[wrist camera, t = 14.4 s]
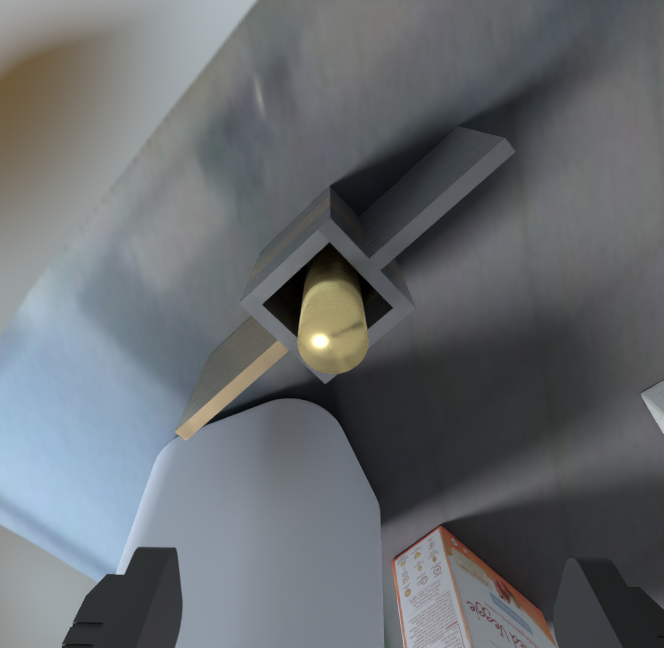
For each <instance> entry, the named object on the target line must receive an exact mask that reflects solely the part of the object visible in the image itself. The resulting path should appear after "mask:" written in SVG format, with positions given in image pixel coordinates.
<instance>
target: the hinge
mask: <svg viewBox="0 0 664 648" xmlns="http://www.w3.org/2000/svg"><path fill="white" fill-rule="evenodd" d="M515 152H516V151H515V150H514V149H513V148H512V146H511V145H510V144H509V142H508V141H507V140H506V139H505V138H504V137H500V136H496V135H492V134H488V133H484V132H480V131H476V130H472V129H468V128H464V127H459V126H457V127H456V128H455V129H453V130H452V131H451V132H450V133H449V134H448V135H447V136H446V137H445V138H444V139H443V140H442V141H440V142H439V143H438V144H437V145H436V146H435V147H434V148H433V149H432V150H431V151H430V152H429V153H428V154H426V155H425V156H424V157H423V158H422V159H421V160H420V161H419V162H418V163H417V164H416V165H415V166H413V167H412V168H411V169H410V170H409V171H408V172H407V173H406V174H405V175H404V176H403V177H402V178H400V179H399V180H398V181H397V182H396V183H395V184H394V185H393V186H392V187H391V188H390V189H389V190H387V191H386V192H385V193H384V194H383V195H382V196H381V197H380V198H379V199H378V200H377V201H376V202H374V203H373V204H372V205H371V206H370V207H369V208H368V209H367V210H366V211H365V212H364V213H363V214H361V215H360V216H359V217H358V216H357V215H356V214H355V213H354V212H353V210H352V209H351V208H350V207H349V206H348V205H347V204H346V203H345V202H344V201H343V200H342V199H341V197H340V196H339V195H338V194H337V193H336V192H335V191H334V190H333V189H332V188H331V187H330V186H329V187H328V188H327V189H326V190H325V191H324V192H323V193H322V194H321V195H320V196H319V197H317V198H316V199H315V200H314V201H313V202H312V203H311V204H310V205H309V206H308V207H307V208H306V209H305V210H304V211H303V212H302V213H301V214H300V215H299V216H298V217H297V218H296V219H295V220H294V221H293V222H292V223H290V224H289V225H288V226H287V227H286V228H285V229H284V230H283V231H282V232H281V233H280V234H279V235H278V236H277V237H276V238H275V239H274V240H273V241H272V242H271V243H270V244H269V245H268V246H267V247H266V248H264V249H263V250H262V251H261V253H260V255H259V258H258V260H257V262H256V265H255V267H254V269H253V272H252V274H251V276H250V279H249V281H248V283H247V286H246V288H245V291H244V293H243V295H242V298H241V300H240V302H239V305H240V306H241V307H243V308H244V309H245V310H246V311H247V312H248V313H249V314H250V315H251V317H250V318H249V319H248V320H247V321H246V322H245V323H244V324H242V325H241V326H240V327H239V328H238V329H237V330H236V331H235V332H234V333H233V334H232V335H231V336H229V337H228V338H227V339H226V340H225V341H224V342H223V343H222V344H221V345H220V346H219V347H218V348H216V349H215V350H214V351H213V352H212V353H211V354H210V355H209V358H208V360H207V362H206V364H205V367H204V369H203V371H202V373H201V375H200V378H199V380H198V382H197V384H196V386H195V389H194V391H193V393H192V395H191V397H190V400H189V402H188V404H187V406H186V408H185V411H184V413H183V415H182V417H181V420H180V422H179V424H178V426H177V428H176V431H175V433H177V434H178V435H179V436H180V437H182V438H183V439H184V440H186V441H187V440H188V439H189V438H190V437H191V436H192V435H193V434H194V433H196V432H197V431H198V430H199V429H200V428H201V427H202V426H204V425H205V424H206V423H207V422H208V421H209V420H210V419H212V418H213V417H214V416H215V415H216V414H217V413H218V412H220V411H221V410H222V409H223V408H224V407H225V406H226V405H228V404H229V403H230V402H231V401H232V400H233V399H234V398H236V397H237V396H238V395H239V394H240V393H241V392H242V391H244V390H245V389H246V388H247V387H248V386H249V385H250V384H251V383H253V382H254V381H255V380H256V379H257V378H258V377H259V376H261V375H262V374H263V373H264V372H265V371H266V370H267V369H269V368H270V367H271V366H272V365H273V364H274V363H275V362H277V361H278V360H279V359H280V358H281V357H282V356H283V355H285V354H286V353H287V352H288V351H290V352H291V353H292V354H293V355H294V356H295V357H297V358H298V359H299V360H300V361H301V362H302V363H303V364H304V365H305V366H306V367H307V368H308V369H310V370H311V371H312V372H313V373H314V374H315V375H316V376H317V377H318V378H319V379H320V380H321V381H322V382H324V383H325V384H326V383H327V382H329V381H330V380H331V379H332V378H333V377H335V376H336V375H337V374H327V373H322V372H319V371H317V370H315V369H313V368H312V367H310V366H309V365H308V364H307V363H306V362H305V361H304V360H303V358H302V357H301V355H300V353H299V350H298V344H297V340H298V331H299V323H300V315H301V307H302V299H303V292H304V284H305V279H304V278H303V277H302V276H301V275H300V274H299V273H298V271H299V270H300V269H301V268H302V267H303V266H304V265H305V264H306V263H307V262H308V261H309V260H311V259H312V258H313V257H314V256H315V255H316V254H317V253H318V252H319V251H320V250H321V249H322V248H323V247H325V246H326V245H327V244H328V243H329V242H330V243H331V244H332V245H333V246H334V247H335V248H336V249H337V250H338V251H339V252H340V253H341V254H342V255H343V256H344V257H345V258H346V259H347V260H348V262H349V263H350V264H351V265H352V266H353V267H354V268H355V269H356V270H357V271H358V276H359V282H360V289H361V295H362V301H363V307H364V313H365V319H366V325H367V331H368V338H369V345H368V348H369V347H371V346H372V345H373V344H374V343H375V342H377V341H378V340H379V339H380V338H381V337H383V336H384V335H385V334H386V333H387V332H389V331H390V330H391V329H392V328H393V327H395V326H396V325H397V324H398V323H399V322H401V321H402V320H403V319H404V318H405V317H407V316H408V315H409V314H410V313H411V312H413V311H414V310H415V309H416V307H415V305H414V302H413V300H412V297H411V295H410V293H409V290H408V288H407V285H406V283H405V280H404V278H403V275H402V273H401V271H400V268H399V266H398V263H397V261H396V258H395V257H396V256H397V255H399V254H400V253H401V252H402V251H403V250H404V249H405V248H407V247H408V246H409V245H410V244H411V243H412V242H413V241H414V240H416V239H417V238H418V237H419V236H420V235H421V234H422V233H424V232H425V231H426V230H427V229H428V228H429V227H430V226H432V225H433V224H434V223H435V222H436V221H437V220H438V219H440V218H441V217H442V216H443V215H444V214H445V213H446V212H448V211H449V210H450V209H451V208H452V207H453V206H454V205H456V204H457V203H458V202H459V201H460V200H461V199H462V198H463V197H465V196H466V195H467V194H468V193H469V192H470V191H471V190H473V189H474V188H475V187H476V186H477V185H478V184H479V183H481V182H482V181H483V180H484V179H485V178H486V177H487V176H489V175H490V174H491V173H492V172H493V171H494V170H495V169H497V168H498V167H499V166H500V165H501V164H502V163H503V162H505V161H506V160H507V159H508V158H509V157H510V156H511V155H513V154H514V153H515Z"/></svg>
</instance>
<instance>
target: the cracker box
mask: <svg viewBox="0 0 664 648" xmlns="http://www.w3.org/2000/svg"><path fill="white" fill-rule="evenodd" d="M392 567H393V574H394V581H395V587H396V594H397V602H398V609H399V616H400V623H401V630H402V637H403V644H404V648H557V647H556V645H555V642H554V640H553V637H552V635H551V633H550V630H549V628H548V626H547V623H546V621H545V619H544V616H543V614H542V612H541V610H539V609H538V608H537V607H536V606H534V605H533V604H532V603H531V602H530V601H529V600H527V599H526V598H525V597H524V596H523V595H522V594H520V593H519V592H518V591H517V590H515V589H514V588H513V587H512V586H511V585H510V584H509V583H508V582H506V581H505V580H504V579H503V578H502V577H501V576H499V575H498V574H497V573H496V572H495V571H494V570H492V569H491V568H490V567H489V566H488V565H487V564H485V563H484V562H483V561H482V560H481V559H480V558H478V557H477V556H476V555H475V554H474V553H473V552H471V551H470V550H469V549H468V548H467V547H466V546H465V545H463V544H462V543H461V542H460V541H459V540H458V539H456V538H455V537H454V536H453V535H452V534H451V533H449V532H448V531H447V530H446V529H445V528H444V527H442V526H439V527H437V528H436V529H435V530H433V531H432V532H431V533H429V534H428V535H427V536H425V537H424V538H423V539H421V540H420V541H418V542H417V543H416V544H414V545H413V546H411V547H410V548H409V549H407V550H406V551H405V552H403V553H402V554H401V555H399V556H398V557H396V558H395V559H394V560H393V561H392Z"/></svg>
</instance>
